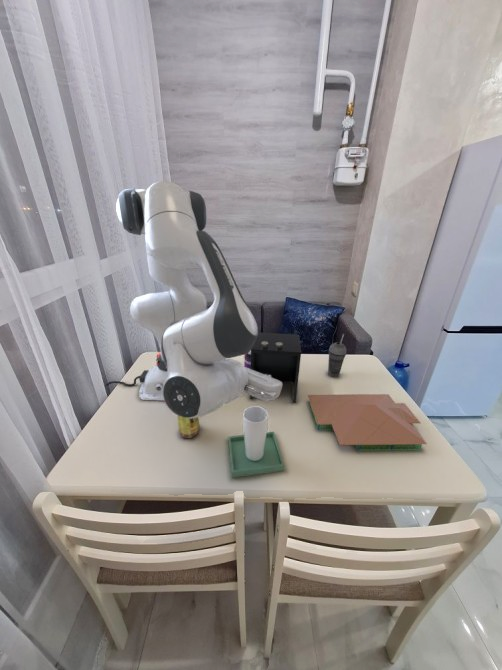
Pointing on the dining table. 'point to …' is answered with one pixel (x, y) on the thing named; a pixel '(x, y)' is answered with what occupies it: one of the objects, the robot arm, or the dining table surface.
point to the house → (367, 420)
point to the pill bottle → (247, 360)
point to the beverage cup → (336, 358)
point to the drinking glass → (255, 431)
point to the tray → (248, 467)
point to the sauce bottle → (188, 426)
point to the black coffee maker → (277, 357)
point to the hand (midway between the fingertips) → (251, 370)
